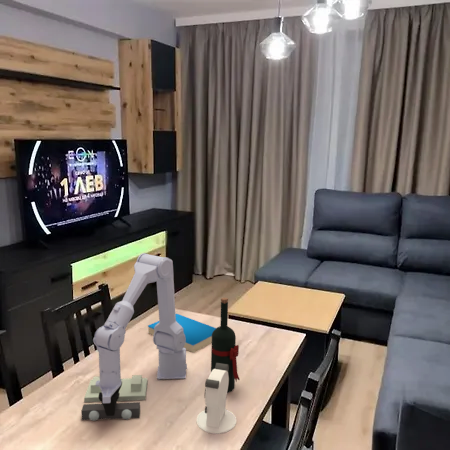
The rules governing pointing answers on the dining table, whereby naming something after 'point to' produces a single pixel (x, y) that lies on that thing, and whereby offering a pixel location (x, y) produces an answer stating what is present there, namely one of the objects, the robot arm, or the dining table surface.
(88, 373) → the dining table surface
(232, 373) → the wine bottle
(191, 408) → the dining table surface
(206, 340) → the book
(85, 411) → the bar
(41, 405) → the dining table surface
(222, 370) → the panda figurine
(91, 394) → the stand
